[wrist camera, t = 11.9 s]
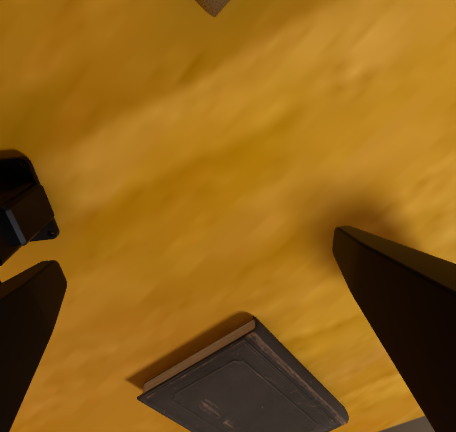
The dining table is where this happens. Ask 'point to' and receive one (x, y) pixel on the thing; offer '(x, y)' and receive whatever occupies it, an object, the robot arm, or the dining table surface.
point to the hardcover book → (244, 388)
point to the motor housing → (212, 6)
